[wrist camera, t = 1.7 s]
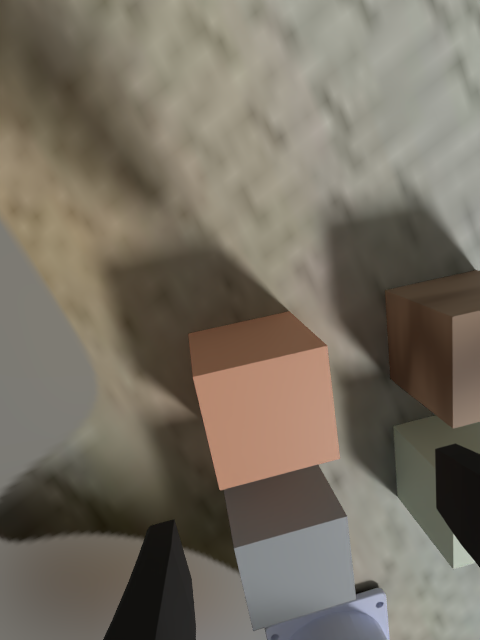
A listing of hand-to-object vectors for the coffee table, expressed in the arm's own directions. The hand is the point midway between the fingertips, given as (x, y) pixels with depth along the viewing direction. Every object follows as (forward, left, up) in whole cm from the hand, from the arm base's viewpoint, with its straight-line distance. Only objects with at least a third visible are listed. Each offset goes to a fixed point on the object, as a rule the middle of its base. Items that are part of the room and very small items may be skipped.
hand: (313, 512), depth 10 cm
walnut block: (0, -10, -10) cm, 14 cm away
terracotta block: (0, 0, -10) cm, 10 cm away
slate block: (-8, 0, -10) cm, 12 cm away
